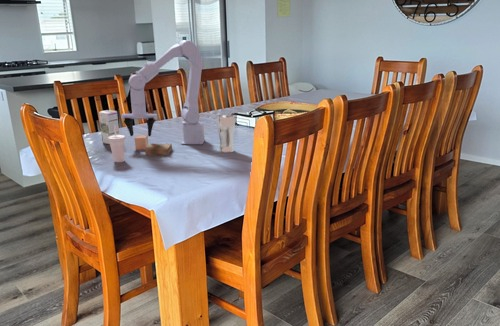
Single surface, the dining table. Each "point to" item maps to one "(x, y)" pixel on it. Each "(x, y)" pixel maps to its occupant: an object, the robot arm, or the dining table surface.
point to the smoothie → (117, 146)
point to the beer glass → (226, 132)
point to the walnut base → (158, 149)
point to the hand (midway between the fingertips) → (140, 135)
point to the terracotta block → (141, 142)
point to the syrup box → (108, 124)
